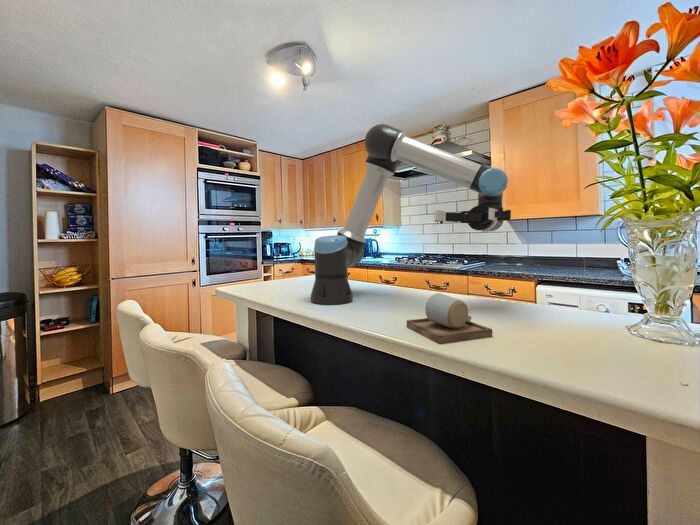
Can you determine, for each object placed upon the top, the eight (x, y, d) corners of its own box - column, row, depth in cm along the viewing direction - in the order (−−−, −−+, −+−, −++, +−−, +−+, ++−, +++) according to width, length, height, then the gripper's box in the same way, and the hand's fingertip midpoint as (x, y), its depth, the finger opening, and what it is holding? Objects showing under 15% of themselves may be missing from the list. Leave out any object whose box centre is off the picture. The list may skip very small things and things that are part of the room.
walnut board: (406, 326, 81) (406, 320, 81) (452, 321, 85) (452, 315, 85) (439, 344, 68) (439, 336, 67) (492, 336, 72) (492, 329, 72)
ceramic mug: (449, 332, 71) (449, 300, 71) (425, 324, 78) (424, 295, 77) (480, 324, 76) (479, 294, 76) (454, 317, 83) (453, 289, 82)
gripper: (526, 230, 93) (515, 228, 75) (442, 230, 107) (416, 229, 90) (528, 204, 92) (516, 196, 75) (443, 207, 106) (417, 202, 89)
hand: (462, 214), depth 82 cm, fingers open, 13 cm apart
